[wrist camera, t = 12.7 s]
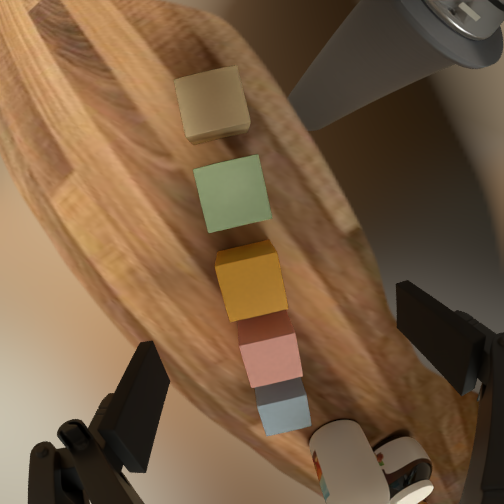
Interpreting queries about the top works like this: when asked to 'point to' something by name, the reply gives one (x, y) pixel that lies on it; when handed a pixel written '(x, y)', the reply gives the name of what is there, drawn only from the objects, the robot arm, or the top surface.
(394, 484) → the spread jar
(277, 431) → the blue-grey block
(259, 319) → the dusty pink block
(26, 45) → the top surface
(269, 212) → the sage block
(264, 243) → the ochre block
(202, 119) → the birch block
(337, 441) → the milk bottle
